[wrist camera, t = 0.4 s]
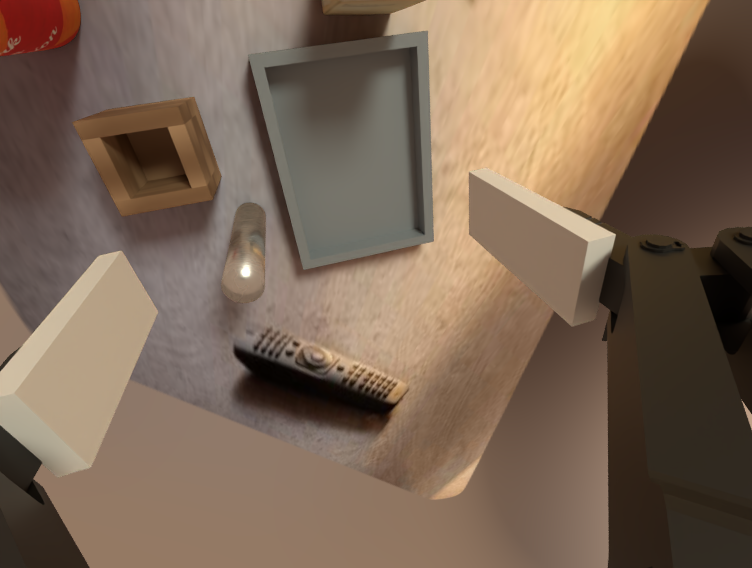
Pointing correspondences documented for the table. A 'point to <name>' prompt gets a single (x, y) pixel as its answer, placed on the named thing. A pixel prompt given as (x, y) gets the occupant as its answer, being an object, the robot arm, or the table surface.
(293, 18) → the table surface
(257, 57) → the tray
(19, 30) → the coffee cup
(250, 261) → the pin
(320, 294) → the table surface
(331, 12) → the skincare box
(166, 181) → the bored block
